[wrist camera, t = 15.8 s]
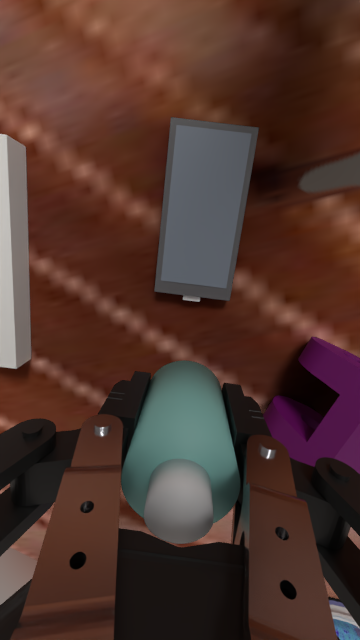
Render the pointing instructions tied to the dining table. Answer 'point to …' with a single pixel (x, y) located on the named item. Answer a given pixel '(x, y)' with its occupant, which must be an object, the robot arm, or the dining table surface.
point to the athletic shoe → (343, 621)
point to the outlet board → (14, 256)
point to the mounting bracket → (311, 427)
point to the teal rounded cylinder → (181, 455)
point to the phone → (203, 207)
